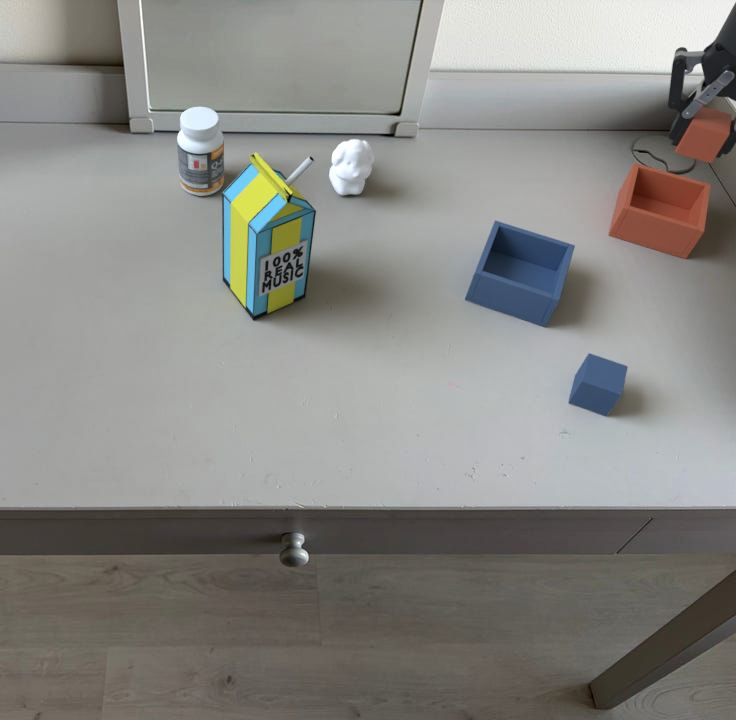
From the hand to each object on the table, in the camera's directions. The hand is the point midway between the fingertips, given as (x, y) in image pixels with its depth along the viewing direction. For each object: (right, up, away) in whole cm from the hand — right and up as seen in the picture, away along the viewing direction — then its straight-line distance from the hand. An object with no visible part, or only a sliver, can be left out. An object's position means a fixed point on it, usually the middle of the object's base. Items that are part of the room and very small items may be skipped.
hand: (696, 146), depth 89 cm
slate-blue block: (-15, -28, -7) cm, 33 cm away
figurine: (-39, -2, +12) cm, 41 cm away
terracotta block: (0, 0, 0) cm, 0 cm away
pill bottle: (-58, -2, +12) cm, 59 cm away
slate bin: (-20, -16, +2) cm, 26 cm away
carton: (-49, -16, +1) cm, 52 cm away
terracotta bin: (0, -7, +10) cm, 12 cm away
